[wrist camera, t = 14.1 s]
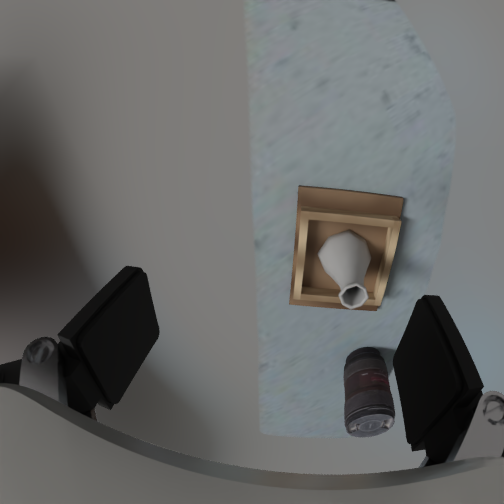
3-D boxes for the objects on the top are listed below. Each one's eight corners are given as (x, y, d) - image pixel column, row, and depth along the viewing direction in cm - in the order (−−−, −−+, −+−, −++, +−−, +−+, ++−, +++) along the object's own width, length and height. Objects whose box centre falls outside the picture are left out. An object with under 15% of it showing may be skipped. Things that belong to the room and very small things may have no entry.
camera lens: (383, 339, 43) (398, 409, 30) (384, 367, 46) (394, 432, 33) (339, 348, 46) (342, 420, 32) (344, 375, 49) (346, 441, 35)
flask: (379, 257, 36) (397, 299, 27) (339, 286, 39) (345, 332, 30) (349, 219, 35) (362, 254, 26) (307, 251, 38) (307, 293, 29)
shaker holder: (298, 185, 35) (298, 190, 32) (401, 197, 33) (408, 203, 30) (289, 301, 43) (288, 312, 40) (375, 307, 41) (378, 319, 38)
